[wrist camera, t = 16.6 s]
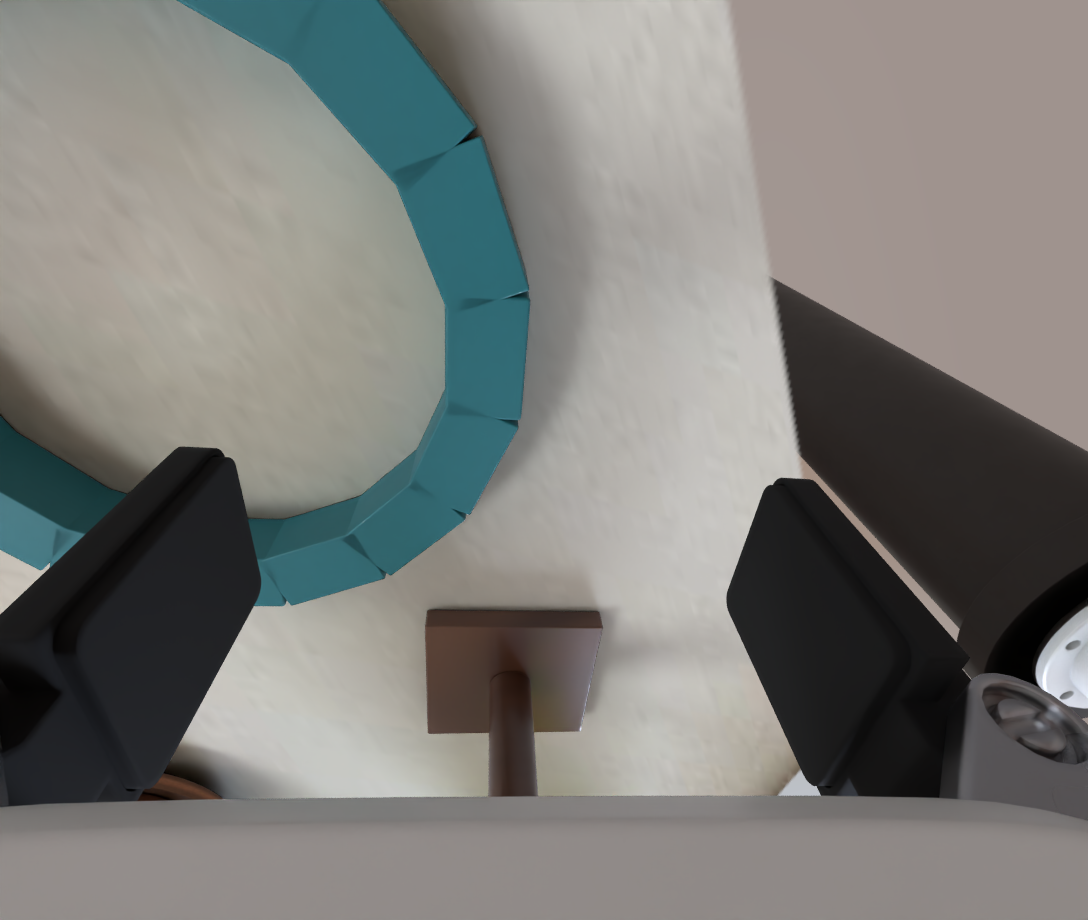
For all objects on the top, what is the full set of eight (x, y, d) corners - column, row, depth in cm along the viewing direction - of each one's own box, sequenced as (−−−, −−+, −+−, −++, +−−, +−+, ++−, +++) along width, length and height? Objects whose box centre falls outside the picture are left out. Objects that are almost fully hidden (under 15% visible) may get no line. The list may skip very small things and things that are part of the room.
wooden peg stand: (599, 610, 26) (725, 1194, 12) (578, 714, 30) (651, 1237, 16) (427, 609, 25) (338, 1240, 11) (429, 716, 29) (368, 1273, 15)
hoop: (553, -82, 13) (563, -120, 11) (505, 567, 24) (506, 609, 22) (-492, -241, 11) (-724, -328, 9) (-24, 558, 21) (-78, 604, 19)
